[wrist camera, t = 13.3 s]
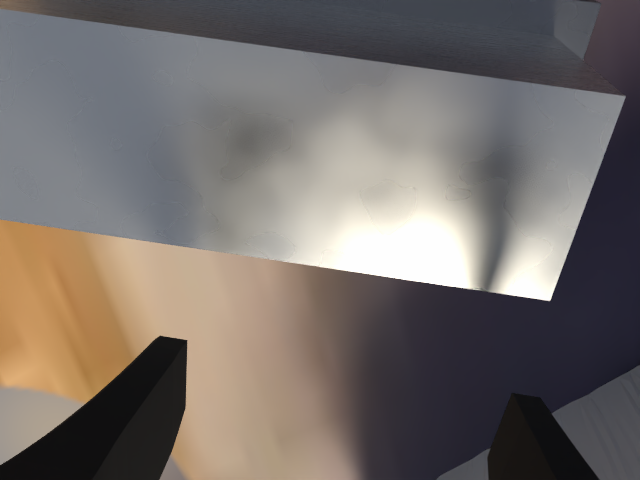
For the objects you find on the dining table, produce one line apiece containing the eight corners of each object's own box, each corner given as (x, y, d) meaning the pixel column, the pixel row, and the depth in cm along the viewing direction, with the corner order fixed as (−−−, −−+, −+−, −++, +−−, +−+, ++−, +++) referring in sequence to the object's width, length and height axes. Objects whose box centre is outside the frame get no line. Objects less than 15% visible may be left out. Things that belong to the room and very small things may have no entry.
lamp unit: (590, -2, 18) (697, 52, 12) (523, 212, 21) (578, 339, 15) (48, -76, 18) (-122, -61, 12) (69, 146, 22) (-54, 245, 15)
